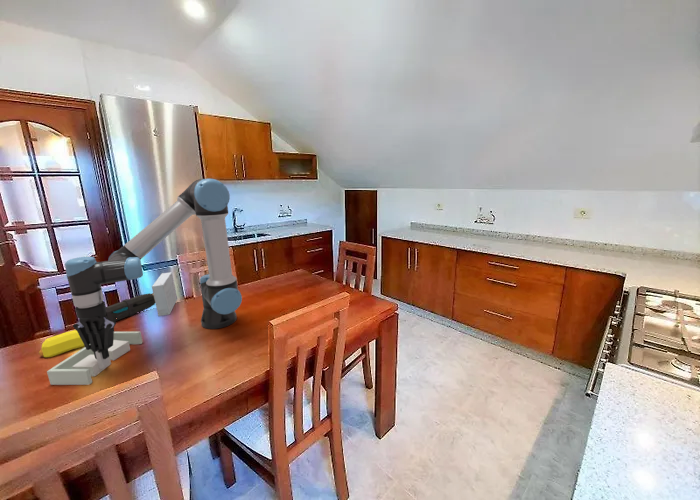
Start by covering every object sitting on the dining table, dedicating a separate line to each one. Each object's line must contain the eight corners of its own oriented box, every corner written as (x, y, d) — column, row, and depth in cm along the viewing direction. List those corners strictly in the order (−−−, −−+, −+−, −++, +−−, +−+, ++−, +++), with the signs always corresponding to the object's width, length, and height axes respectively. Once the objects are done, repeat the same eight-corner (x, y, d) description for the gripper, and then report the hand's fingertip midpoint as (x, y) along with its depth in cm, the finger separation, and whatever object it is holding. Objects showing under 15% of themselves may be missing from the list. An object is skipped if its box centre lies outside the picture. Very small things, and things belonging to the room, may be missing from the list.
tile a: (130, 350, 117) (128, 341, 116) (113, 361, 110) (111, 351, 109) (115, 348, 118) (113, 339, 117) (97, 359, 111) (95, 349, 110)
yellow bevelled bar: (39, 354, 115) (40, 362, 109) (34, 338, 113) (35, 346, 108) (99, 336, 127) (102, 342, 122) (96, 322, 126) (99, 328, 120)
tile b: (111, 364, 108) (109, 354, 107) (95, 376, 101) (92, 366, 100) (92, 364, 108) (89, 354, 107) (74, 376, 101) (71, 366, 100)
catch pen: (142, 342, 122) (140, 331, 120) (89, 384, 97) (85, 371, 96) (111, 342, 122) (109, 331, 121) (50, 384, 97) (46, 371, 96)
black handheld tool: (162, 311, 157) (95, 331, 130) (154, 312, 160) (86, 331, 132) (158, 291, 157) (89, 306, 129) (150, 292, 159) (81, 307, 132)
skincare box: (166, 300, 164) (161, 272, 160) (177, 299, 166) (173, 271, 162) (156, 316, 144) (151, 285, 141) (169, 314, 146) (164, 284, 143)
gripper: (118, 299, 102) (130, 359, 108) (80, 299, 102) (95, 360, 108) (100, 308, 95) (114, 373, 100) (59, 308, 95) (76, 373, 100)
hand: (104, 366), depth 104 cm, fingers closed
